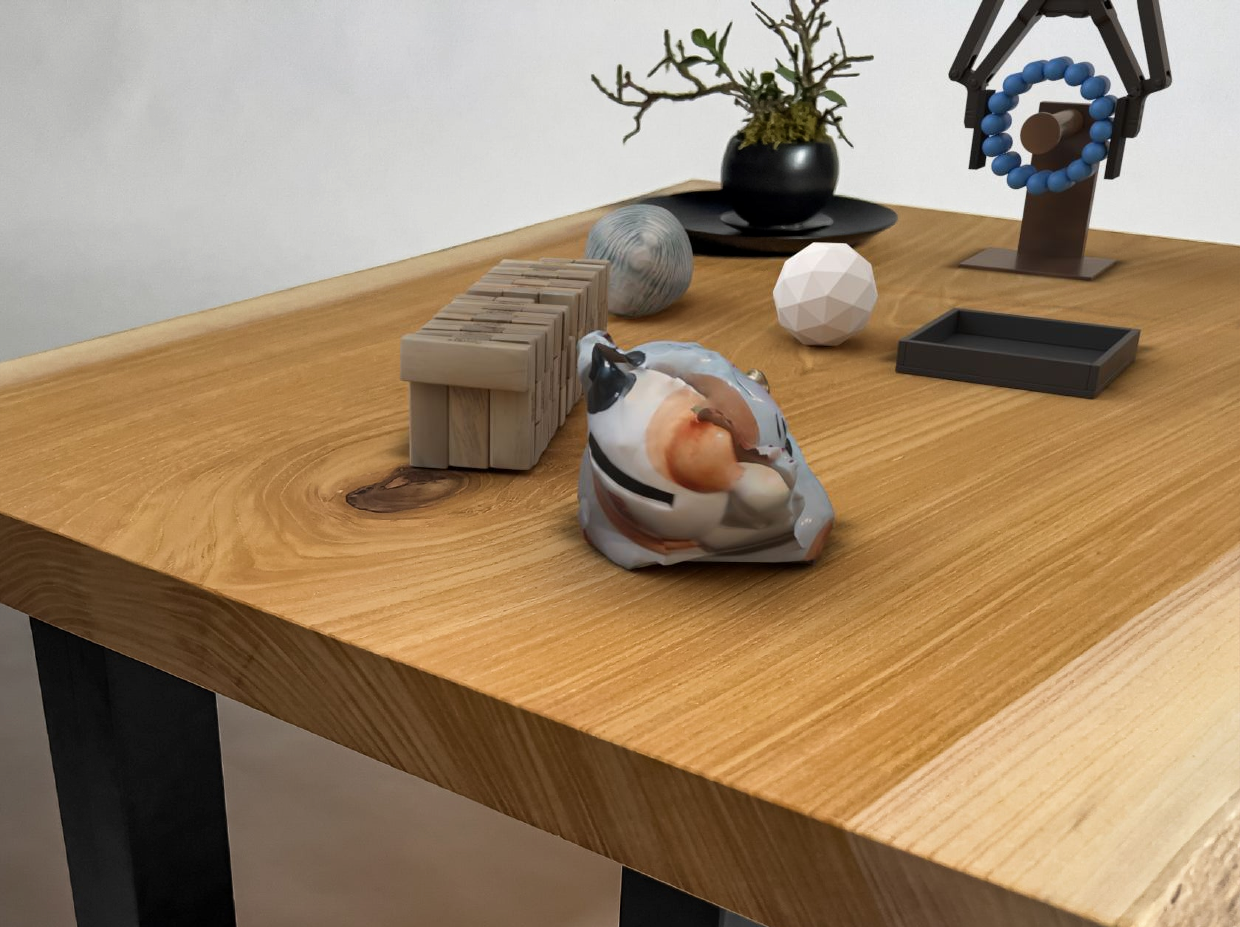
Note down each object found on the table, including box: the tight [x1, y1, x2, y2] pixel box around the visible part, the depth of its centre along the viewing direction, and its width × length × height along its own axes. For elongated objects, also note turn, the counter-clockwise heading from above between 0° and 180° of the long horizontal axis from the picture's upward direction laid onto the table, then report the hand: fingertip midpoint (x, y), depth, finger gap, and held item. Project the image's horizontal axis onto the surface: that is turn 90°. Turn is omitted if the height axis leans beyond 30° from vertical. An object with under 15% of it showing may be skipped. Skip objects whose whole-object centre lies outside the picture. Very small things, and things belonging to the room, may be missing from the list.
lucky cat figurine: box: [576, 330, 835, 570], centre depth 80 cm, size 15×12×14 cm
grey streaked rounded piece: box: [584, 203, 694, 320], centre depth 135 cm, size 14×10×10 cm
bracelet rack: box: [957, 100, 1117, 282], centre depth 146 cm, size 12×12×15 cm
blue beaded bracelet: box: [981, 55, 1119, 195], centre depth 141 cm, size 11×5×11 cm, turn 58°
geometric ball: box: [772, 242, 879, 347], centre depth 123 cm, size 8×8×8 cm
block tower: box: [399, 256, 611, 471], centre depth 105 cm, size 8×8×29 cm
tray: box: [894, 307, 1142, 400], centre depth 118 cm, size 14×13×2 cm
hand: (1042, 172), depth 143 cm, fingers closed on blue beaded bracelet, 11 cm apart
